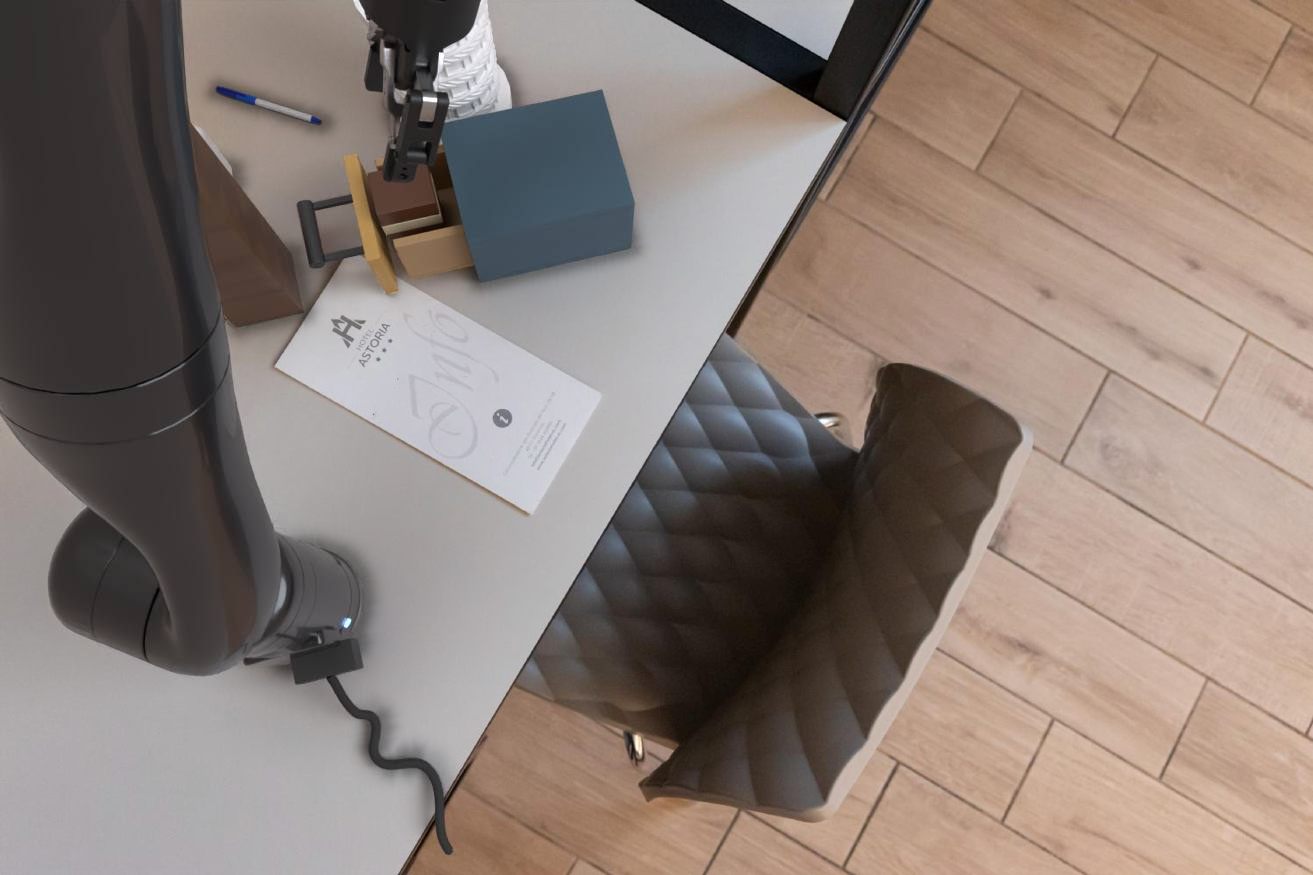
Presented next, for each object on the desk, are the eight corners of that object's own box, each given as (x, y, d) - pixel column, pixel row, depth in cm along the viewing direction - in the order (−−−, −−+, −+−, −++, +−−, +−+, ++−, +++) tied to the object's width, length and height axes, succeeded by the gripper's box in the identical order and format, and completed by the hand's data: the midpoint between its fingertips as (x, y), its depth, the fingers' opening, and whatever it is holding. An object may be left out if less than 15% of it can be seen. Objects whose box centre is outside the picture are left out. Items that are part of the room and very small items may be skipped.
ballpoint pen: (215, 96, 94) (211, 90, 93) (219, 88, 94) (215, 82, 93) (320, 126, 94) (317, 121, 93) (323, 118, 94) (320, 112, 93)
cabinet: (480, 283, 91) (466, 240, 82) (454, 177, 94) (437, 123, 84) (631, 248, 93) (634, 202, 84) (602, 144, 95) (602, 89, 86)
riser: (303, 312, 90) (174, 162, 63) (237, 328, 89) (77, 183, 62) (291, 253, 91) (159, 80, 64) (226, 268, 90) (64, 99, 63)
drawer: (329, 307, 89) (303, 275, 82) (308, 210, 91) (281, 169, 84) (530, 261, 91) (523, 225, 84) (505, 167, 93) (497, 123, 86)
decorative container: (509, 160, 94) (488, 47, 77) (387, 156, 94) (338, 41, 76) (514, 53, 97) (495, -80, 79) (395, 48, 96) (349, -87, 79)
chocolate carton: (450, 242, 90) (436, 203, 82) (395, 254, 90) (376, 216, 82) (441, 202, 91) (426, 159, 83) (386, 214, 90) (366, 172, 83)
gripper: (348, -147, 60) (321, 56, 73) (385, 23, 55) (349, 209, 68) (468, -124, 63) (421, 66, 77) (513, 38, 58) (455, 212, 71)
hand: (387, 133), depth 72 cm, fingers open, 8 cm apart
